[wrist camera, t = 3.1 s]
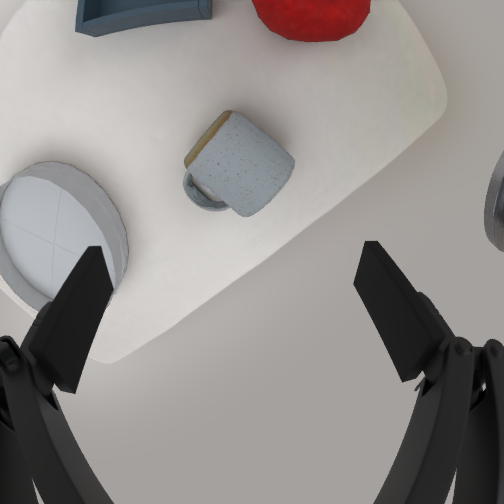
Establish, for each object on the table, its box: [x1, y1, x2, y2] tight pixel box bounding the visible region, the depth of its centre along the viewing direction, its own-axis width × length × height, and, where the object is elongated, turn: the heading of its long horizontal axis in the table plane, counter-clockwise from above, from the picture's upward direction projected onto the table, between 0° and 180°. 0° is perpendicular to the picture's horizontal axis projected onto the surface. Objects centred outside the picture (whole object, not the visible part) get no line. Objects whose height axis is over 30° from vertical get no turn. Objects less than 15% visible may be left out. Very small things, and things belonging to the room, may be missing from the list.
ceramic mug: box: [183, 110, 295, 217], centre depth 26 cm, size 11×8×8 cm
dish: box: [0, 161, 129, 311], centre depth 30 cm, size 22×22×5 cm
